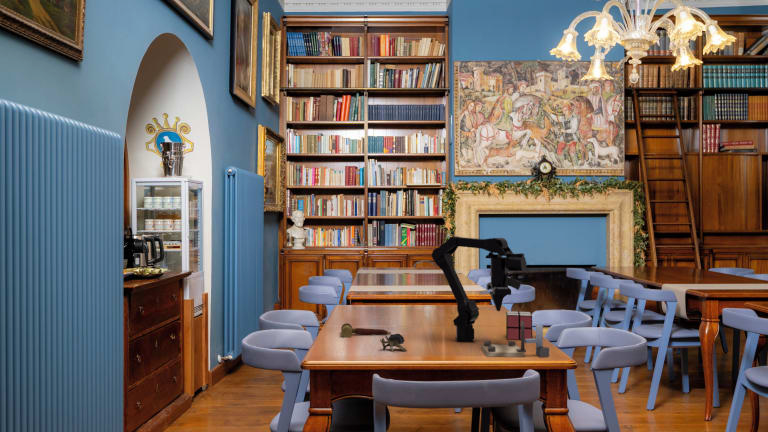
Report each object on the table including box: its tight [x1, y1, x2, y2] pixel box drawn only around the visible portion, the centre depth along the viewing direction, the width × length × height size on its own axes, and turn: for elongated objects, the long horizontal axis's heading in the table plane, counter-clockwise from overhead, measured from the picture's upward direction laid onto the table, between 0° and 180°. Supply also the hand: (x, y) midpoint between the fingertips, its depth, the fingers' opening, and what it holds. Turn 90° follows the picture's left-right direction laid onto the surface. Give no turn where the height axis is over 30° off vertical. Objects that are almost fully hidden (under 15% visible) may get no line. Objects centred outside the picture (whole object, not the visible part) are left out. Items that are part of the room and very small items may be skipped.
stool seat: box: [480, 321, 526, 358], centre depth 199 cm, size 14×13×12 cm
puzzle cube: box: [505, 311, 533, 341], centre depth 225 cm, size 10×10×10 cm
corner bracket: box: [536, 346, 550, 358], centre depth 193 cm, size 2×4×3 cm, turn 104°
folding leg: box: [525, 324, 544, 355], centre depth 195 cm, size 7×2×10 cm, turn 104°
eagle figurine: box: [379, 333, 408, 353], centre depth 202 cm, size 8×7×9 cm
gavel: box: [340, 322, 392, 339], centre depth 231 cm, size 21×5×10 cm
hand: (498, 311), depth 212 cm, fingers closed
